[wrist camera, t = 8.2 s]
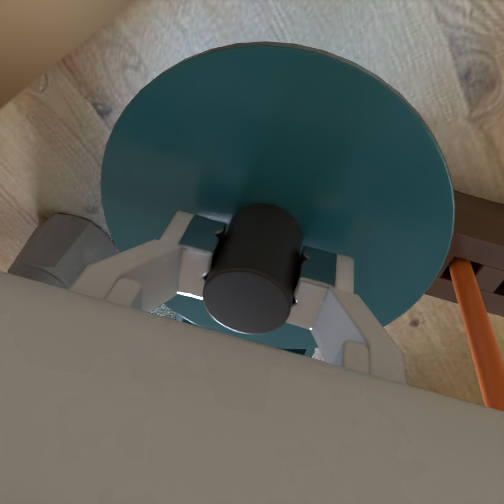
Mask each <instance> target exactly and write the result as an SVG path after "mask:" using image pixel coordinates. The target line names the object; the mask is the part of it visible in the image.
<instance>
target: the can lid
mask: <svg viewBox="0 0 504 504" xmlns="http://www.w3.org/2000/svg"><path fill="white" fill-rule="evenodd" d="M101 196H102V205H103V209H104V214H105V219H106V222H107V225H108V228H109V230H110V233H111V236H112V239H113V241H114V242H115V244H116V246H117V248H118V250H119V252H120V253H121V252H123V251H126V250H129V249H131V248H134V247H136V246H139V245H141V244H144V243H146V242H149V241H151V240H154V239H156V240H160V238H161V237H162V235H163V233H164V232H165V230H166V228H167V227H168V225H169V224H170V222H171V220H172V219H173V217H174V216H175V214H176V212H178V211H179V210H180V211H183V212H187V213H191V214H194V215H198V216H201V217H205V218H208V219H211V220H215V221H218V222H222V223H225V224H226V232H225V236H224V239H223V241H222V244H221V246H220V248H219V251H218V253H217V255H216V258H215V261H214V263H213V266H212V268H211V270H210V272H209V275H208V277H207V280H206V282H205V284H204V287H203V292H202V297H203V299H199V298H195V297H191V296H187V295H183V294H179V293H177V295H176V296H174V297H173V298H171V299H170V300H168V301H167V302H165V303H164V304H165V305H166V306H167V307H169V308H170V309H171V310H173V311H174V312H176V313H177V314H179V315H180V316H182V317H183V318H185V319H187V320H189V321H190V322H192V323H194V324H196V325H198V326H199V327H203V328H206V329H210V330H213V331H217V332H221V333H224V334H228V335H231V336H235V337H239V338H242V339H246V340H249V341H253V342H257V343H260V344H264V345H267V346H271V347H275V348H282V349H307V348H318V346H317V343H316V341H315V339H314V337H313V335H312V333H311V330H309V329H305V328H302V327H299V326H296V325H292V324H289V323H286V321H287V319H288V318H289V316H290V313H291V307H292V301H293V294H294V288H295V281H296V277H297V271H298V263H299V258H300V254H301V251H302V248H303V246H304V245H305V246H309V247H313V248H316V249H320V250H324V251H328V252H331V253H335V254H336V253H337V254H342V255H346V256H350V257H353V259H354V294H357V295H359V296H360V298H361V299H362V300H363V302H364V303H365V304H366V306H367V307H368V308H369V309H370V311H371V312H372V313H373V315H374V316H375V317H376V319H377V320H378V321H379V323H380V324H381V325H382V326H383V327H384V326H386V325H388V324H389V323H391V322H392V321H394V320H395V319H397V318H398V317H400V316H401V315H402V314H404V313H405V312H406V311H407V310H408V309H410V308H411V307H412V306H413V305H414V304H415V303H416V302H417V301H418V300H419V299H420V298H421V297H422V296H423V294H424V293H425V292H426V291H427V290H428V288H429V287H430V286H431V285H432V283H433V281H434V280H435V278H436V276H437V275H438V273H439V272H440V270H441V268H442V266H443V263H444V261H445V258H446V256H447V254H448V251H449V248H450V244H451V240H452V235H453V231H454V219H455V201H454V192H453V185H452V181H451V178H450V174H449V170H448V167H447V163H446V161H445V158H444V156H443V153H442V151H441V149H440V147H439V145H438V143H437V141H436V139H435V137H434V134H433V133H432V131H431V130H430V129H429V127H428V126H427V124H426V123H425V121H424V120H423V118H422V117H421V115H420V114H419V113H418V112H417V111H416V110H415V108H414V107H413V106H412V105H411V104H410V103H409V102H408V101H407V100H406V99H405V98H404V97H403V96H402V95H401V94H400V93H399V92H398V91H397V90H395V89H394V88H393V87H392V86H390V85H389V84H388V83H386V82H385V81H384V80H383V79H381V78H380V77H379V76H377V75H376V74H374V73H372V72H370V71H368V70H367V69H365V68H363V67H361V66H360V65H358V64H356V63H354V62H353V61H350V60H348V59H345V58H342V57H340V56H337V55H335V54H332V53H329V52H327V51H324V50H320V49H315V48H311V47H307V46H302V45H298V44H291V43H279V42H250V43H237V44H232V45H227V46H223V47H218V48H213V49H210V50H207V51H204V52H202V53H199V54H196V55H194V56H191V57H189V58H186V59H184V60H183V61H181V62H179V63H177V64H176V65H174V66H172V67H170V68H169V69H167V70H165V71H164V72H162V73H161V74H160V75H159V76H157V77H156V78H155V79H154V80H152V81H151V82H150V83H149V84H147V85H146V86H145V87H144V88H143V89H141V90H140V91H139V93H138V94H137V95H136V96H135V97H134V98H133V99H132V100H131V102H130V103H129V104H128V105H127V106H126V107H125V109H124V111H123V112H122V114H121V115H120V117H119V119H118V120H117V122H116V123H115V125H114V128H113V130H112V132H111V135H110V137H109V140H108V142H107V145H106V149H105V153H104V158H103V162H102V171H101Z"/></svg>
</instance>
